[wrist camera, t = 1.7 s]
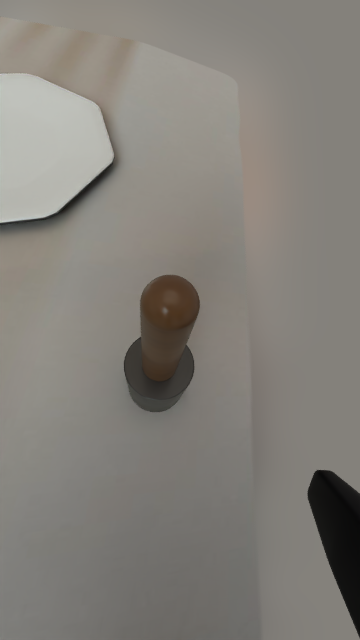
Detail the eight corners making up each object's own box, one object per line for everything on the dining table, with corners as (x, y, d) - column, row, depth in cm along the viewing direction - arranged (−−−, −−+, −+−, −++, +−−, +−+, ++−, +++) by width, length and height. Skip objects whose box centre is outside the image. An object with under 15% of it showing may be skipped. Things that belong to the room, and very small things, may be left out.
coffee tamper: (182, 413, 19) (239, 357, 8) (125, 410, 19) (93, 344, 7) (184, 359, 21) (234, 245, 9) (132, 355, 21) (116, 231, 9)
